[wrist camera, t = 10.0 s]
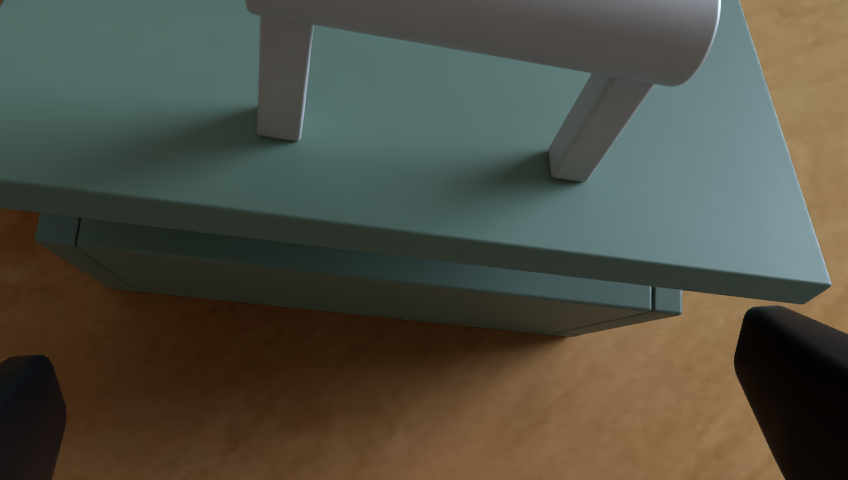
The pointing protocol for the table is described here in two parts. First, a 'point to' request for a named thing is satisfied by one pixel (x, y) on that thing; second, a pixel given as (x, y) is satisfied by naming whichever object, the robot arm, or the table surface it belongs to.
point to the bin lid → (418, 132)
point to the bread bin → (346, 279)
